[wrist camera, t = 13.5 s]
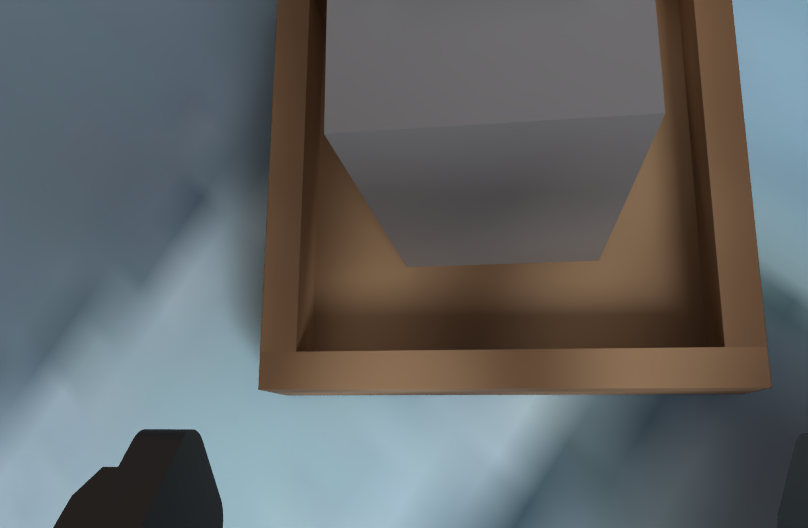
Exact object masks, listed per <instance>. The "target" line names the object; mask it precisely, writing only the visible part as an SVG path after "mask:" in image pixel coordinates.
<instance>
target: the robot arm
mask: <svg viewBox="0 0 808 528" xmlns="http://www.w3.org/2000/svg"><path fill="white" fill-rule="evenodd" d="M53 528H223V508H222V502H221V498H220V495H219V492H218V489H217V485H216V482H215V479H214V476H213V473H212V469H211V466H210V463H209V460H208V457H207V453H206V450H205V447H204V444H203V441H202V438H201V436H200V434H199V433H198V432H197V431H196V430H174V429H144V430H141V431H140V432H139V433H138V434H137V435H136V436H135V437H134V439H133V441H132V442H131V444H130V446H129V448H128V450H127V452H126V453H125V455H124V457H123V459H122V461H121V463H120V465H119V466H118V467H102V468H101V469H100V470H99V471H98V472H97V473H96V474H95V475H94V476H93V477H92V478H91V479H89V480H88V481H87V482H86V483H85V484H84V485H83V486H82V487H81V488H80V489H79V490H78V491H77V492H76V493H74V494H73V495H72V497H71V498H70V500H69V502H68V503H67V505H66V507H65V508H64V510H63V512H62V514H61V515H60V517H59V519H58V520H57V522H56V524H55V526H54V527H53ZM778 528H808V433H805V434H801V435H800V436H799V437H798V439H797V441H796V444H795V448H794V452H793V456H792V460H791V464H790V468H789V472H788V476H787V480H786V484H785V488H784V492H783V496H782V500H781V504H780V508H779V513H778Z"/></svg>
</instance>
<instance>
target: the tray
mask: <svg viewBox="0 0 808 528" xmlns="http://www.w3.org/2000/svg"><path fill="white" fill-rule="evenodd" d="M655 2H656V13H657V24H658V36H659V47H660V58H661V69H662V81H663V92H664V103H665V115H664V117H663V119H662V122H661V124H660V126H659V128H658V131H657V133H656V135H655V137H654V140H653V142H652V144H651V146H650V148H649V151H648V153H647V155H646V157H645V160H644V162H643V164H642V166H641V168H640V171H639V173H638V175H637V177H636V180H635V182H634V184H633V186H632V189H631V191H630V193H629V195H628V197H627V200H626V202H625V204H624V206H623V209H622V211H621V213H620V215H619V217H618V220H617V222H616V224H615V226H614V229H613V231H612V233H611V235H610V237H609V240H608V242H607V244H606V246H605V249H604V251H603V253H602V255H601V258H600V260H599V261H572V262H544V263H516V264H488V265H460V266H432V267H406V265H405V264H404V262H403V260H402V259H401V257H400V255H399V254H398V252H397V251H396V249H395V247H394V246H393V244H392V243H391V241H390V239H389V238H388V236H387V235H386V233H385V231H384V230H383V228H382V226H381V225H380V223H379V222H378V220H377V218H376V217H375V215H374V214H373V212H372V210H371V209H370V207H369V206H368V204H367V202H366V201H365V199H364V197H363V196H362V194H361V193H360V191H359V189H358V188H357V186H356V185H355V183H354V181H353V180H352V178H351V177H350V175H349V173H348V172H347V170H346V168H345V167H344V165H343V164H342V162H341V160H340V159H339V157H338V156H337V154H336V152H335V151H334V149H333V148H332V146H331V144H330V143H329V141H328V139H327V138H326V136H325V135H324V113H325V68H326V22H327V0H278V3H277V23H276V43H275V64H274V84H273V104H272V124H271V144H270V165H269V185H268V205H267V225H266V245H265V266H264V286H263V306H262V326H261V346H260V367H259V387H258V389H259V390H264V391H268V392H273V393H278V394H282V395H568V394H745V393H750V392H754V391H759V390H763V389H768V388H772V386H771V377H770V367H769V357H768V347H767V338H766V328H765V318H764V308H763V299H762V289H761V279H760V269H759V260H758V250H757V240H756V230H755V221H754V211H753V201H752V191H751V182H750V172H749V162H748V153H747V143H746V133H745V123H744V114H743V104H742V94H741V84H740V75H739V65H738V55H737V45H736V36H735V26H734V16H733V6H732V0H655Z"/></svg>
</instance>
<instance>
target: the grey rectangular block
mask: <svg viewBox="0 0 808 528" xmlns="http://www.w3.org/2000/svg"><path fill="white" fill-rule="evenodd" d="M664 115H665V103H664V92H663V81H662V69H661V58H660V47H659V36H658V24H657V13H656V2H655V0H327V22H326V68H325V113H324V135H325V136H326V138H327V139H328V141H329V143H330V144H331V146H332V148H333V149H334V151H335V152H336V154H337V156H338V157H339V159H340V160H341V162H342V164H343V165H344V167H345V168H346V170H347V172H348V173H349V175H350V177H351V178H352V180H353V181H354V183H355V185H356V186H357V188H358V189H359V191H360V193H361V194H362V196H363V197H364V199H365V201H366V202H367V204H368V206H369V207H370V209H371V210H372V212H373V214H374V215H375V217H376V218H377V220H378V222H379V223H380V225H381V226H382V228H383V230H384V231H385V233H386V235H387V236H388V238H389V239H390V241H391V243H392V244H393V246H394V247H395V249H396V251H397V252H398V254H399V255H400V257H401V259H402V260H403V262H404V264H405V265H406V267H432V266H460V265H488V264H516V263H544V262H572V261H599V260H600V258H601V255H602V253H603V251H604V249H605V246H606V244H607V242H608V240H609V237H610V235H611V233H612V231H613V229H614V226H615V224H616V222H617V220H618V217H619V215H620V213H621V211H622V209H623V206H624V204H625V202H626V200H627V197H628V195H629V193H630V191H631V189H632V186H633V184H634V182H635V180H636V177H637V175H638V173H639V171H640V168H641V166H642V164H643V162H644V160H645V157H646V155H647V153H648V151H649V148H650V146H651V144H652V142H653V140H654V137H655V135H656V133H657V131H658V128H659V126H660V124H661V122H662V119H663V117H664Z"/></svg>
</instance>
